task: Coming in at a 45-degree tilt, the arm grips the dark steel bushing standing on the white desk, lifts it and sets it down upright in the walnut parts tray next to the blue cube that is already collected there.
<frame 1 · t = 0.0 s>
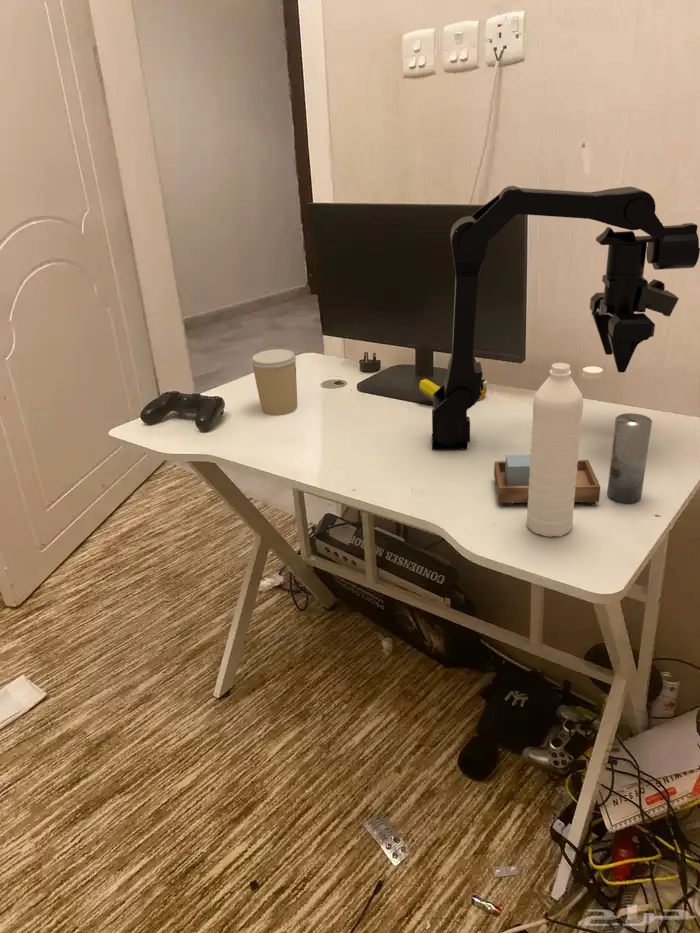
hand: (614, 362, 120), 15 cm above the table, tool pointing down, fingers open, 9 cm apart
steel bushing: (623, 496, 109), on the table
walnut tray: (543, 492, 111), on the table
water bottle: (556, 529, 102), on the table
coffee cup: (279, 409, 151), on the table
blue cube: (518, 482, 111), point 2 cm above the table, touching walnut tray
gaming controller: (456, 400, 149), on the table
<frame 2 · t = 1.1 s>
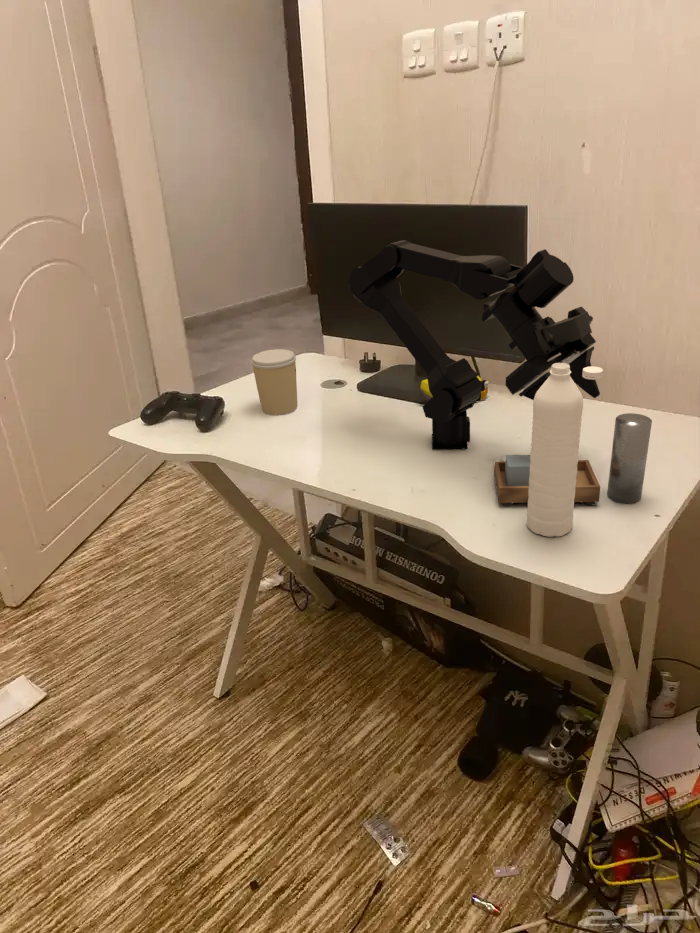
hand: (583, 405, 108), 13 cm above the table, tool tilted 45°, fingers open, 9 cm apart
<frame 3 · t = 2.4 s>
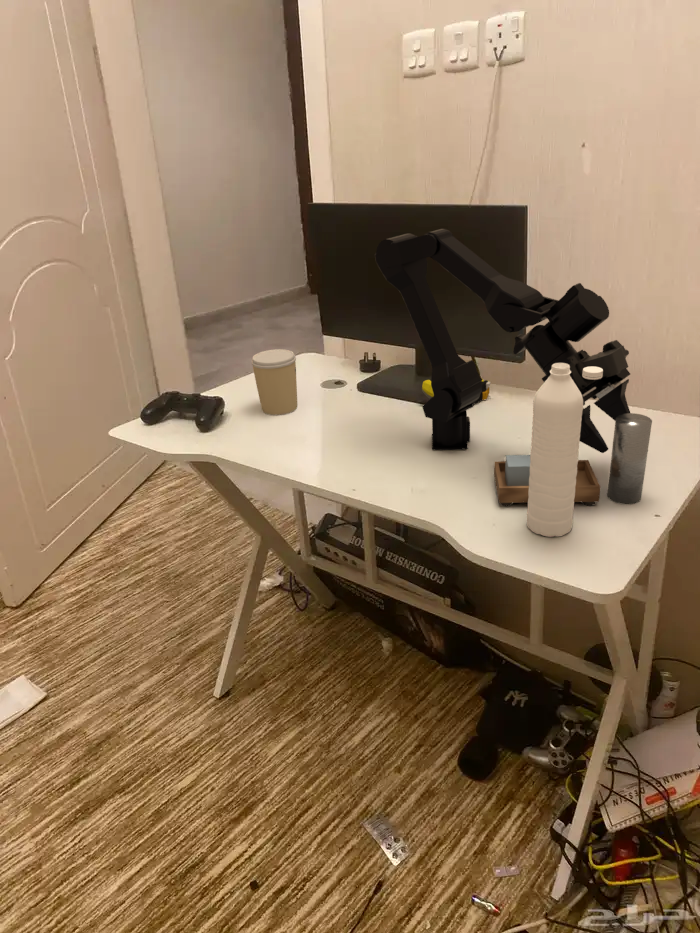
hand: (619, 440, 105), 9 cm above the table, tool tilted 45°, fingers open, 9 cm apart
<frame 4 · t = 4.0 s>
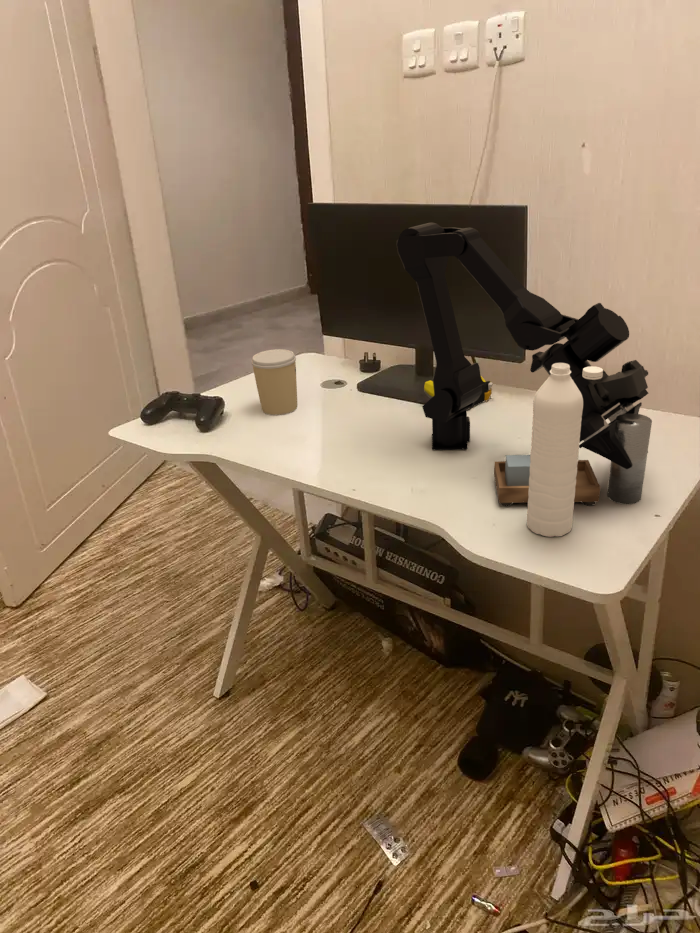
hand: (637, 461, 105), 7 cm above the table, tool tilted 45°, fingers closed on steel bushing, 5 cm apart
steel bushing: (624, 496, 109), on the table, touching gripper
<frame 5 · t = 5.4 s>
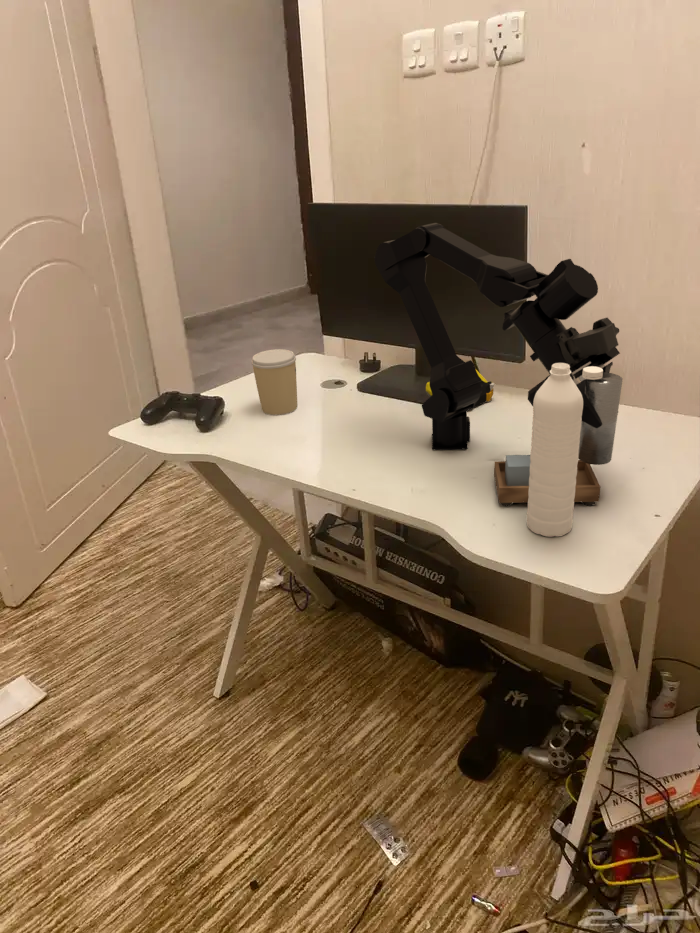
hand: (607, 420, 103), 13 cm above the table, tool tilted 45°, fingers closed on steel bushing, 5 cm apart
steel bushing: (594, 457, 107), point 6 cm above the table, touching gripper
when the fingers open (10 cm above the table, at t = 6.9 s): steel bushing drops 1 cm, resting on walnut tray.
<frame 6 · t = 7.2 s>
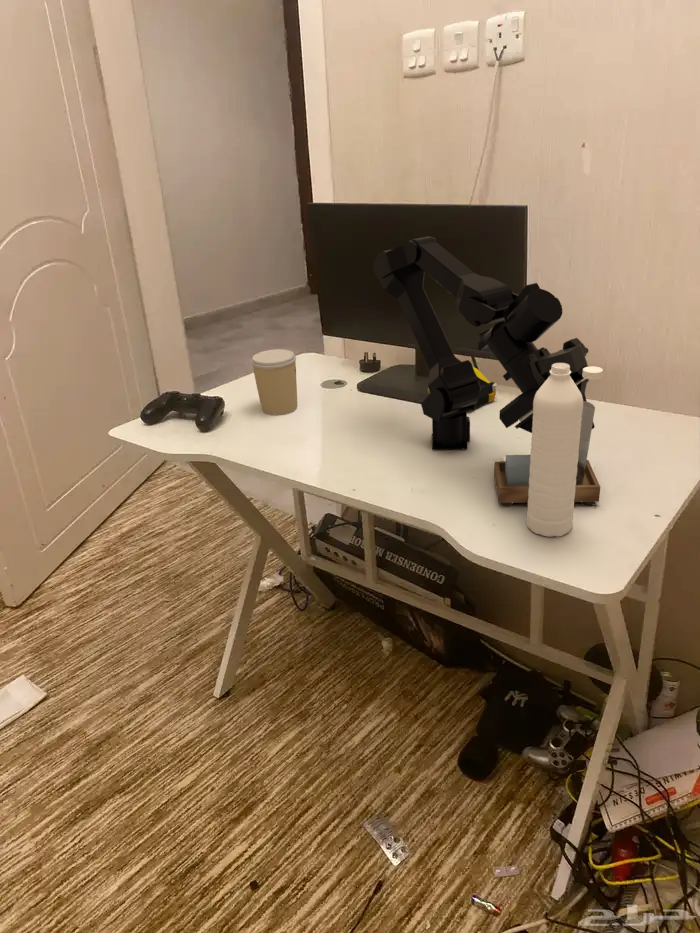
hand: (579, 438, 105), 10 cm above the table, tool tilted 45°, fingers open, 8 cm apart
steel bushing: (566, 481, 110), point 2 cm above the table, touching walnut tray
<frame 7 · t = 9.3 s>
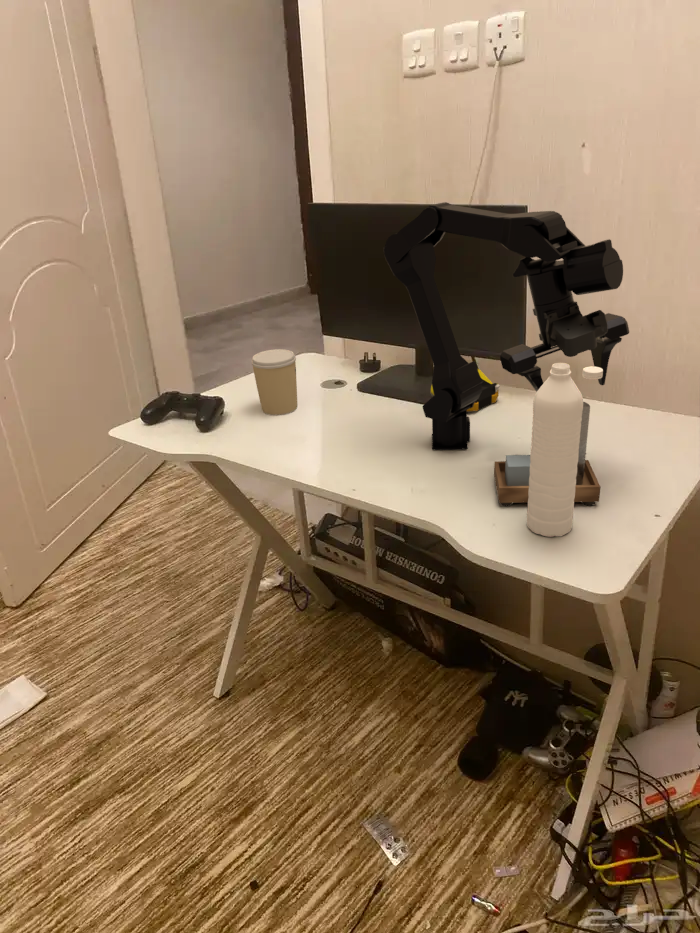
hand: (574, 394, 110), 14 cm above the table, tool tilted 15°, fingers open, 9 cm apart
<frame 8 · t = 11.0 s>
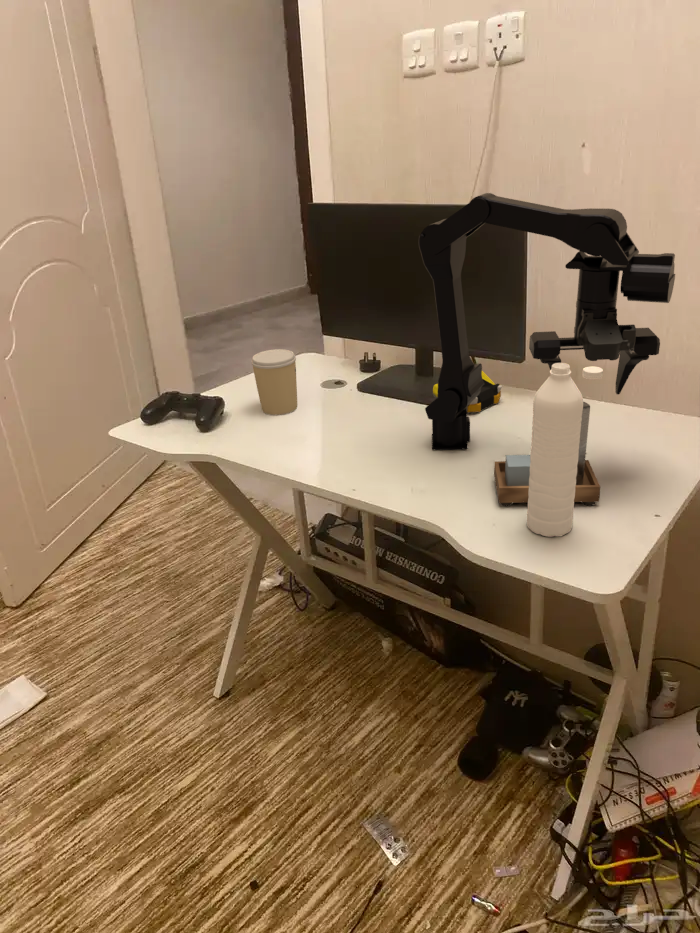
hand: (587, 394, 112), 13 cm above the table, tool pointing down, fingers open, 9 cm apart
at the end: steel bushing inside the target area on the walnut tray (0.3 cm from its centre), point 1.8 cm above the walnut tray's base; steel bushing tilted 0°; the gripper is holding nothing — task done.
